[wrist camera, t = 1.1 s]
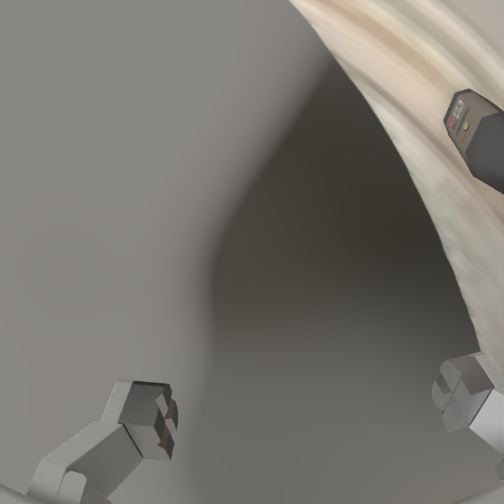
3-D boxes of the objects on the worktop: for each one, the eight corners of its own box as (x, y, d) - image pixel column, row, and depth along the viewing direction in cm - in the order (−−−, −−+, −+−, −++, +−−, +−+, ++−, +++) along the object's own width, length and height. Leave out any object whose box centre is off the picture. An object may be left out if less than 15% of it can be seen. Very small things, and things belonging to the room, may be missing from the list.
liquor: (437, 128, 44) (493, 240, 22) (457, 81, 37) (546, 158, 16) (480, 151, 43) (549, 273, 22) (501, 108, 36) (597, 206, 15)
